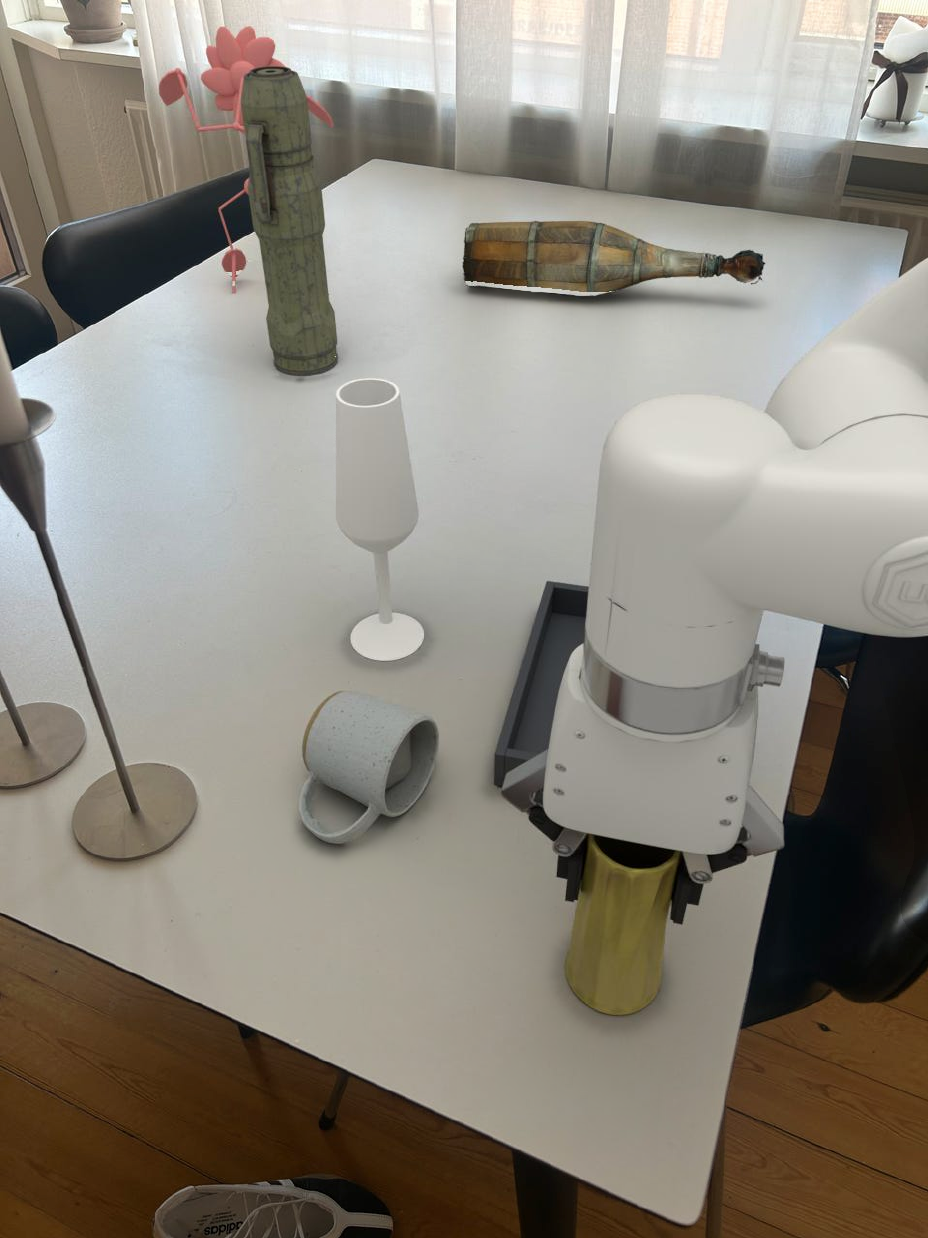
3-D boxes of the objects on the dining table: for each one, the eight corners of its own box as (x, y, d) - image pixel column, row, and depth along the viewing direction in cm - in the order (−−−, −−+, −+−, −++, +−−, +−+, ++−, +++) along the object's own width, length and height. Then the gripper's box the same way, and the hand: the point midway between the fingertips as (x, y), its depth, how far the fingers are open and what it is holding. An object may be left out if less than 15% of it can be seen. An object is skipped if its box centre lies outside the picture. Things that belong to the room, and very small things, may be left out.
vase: (639, 1034, 59) (668, 898, 49) (548, 987, 61) (560, 849, 52) (675, 955, 63) (708, 815, 53) (588, 914, 65) (606, 773, 56)
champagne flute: (420, 609, 90) (408, 369, 75) (428, 656, 85) (417, 410, 70) (348, 616, 89) (321, 375, 74) (352, 664, 84) (323, 417, 69)
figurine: (341, 301, 147) (315, 36, 125) (181, 292, 151) (128, 33, 128) (365, 265, 159) (346, 17, 136) (216, 257, 162) (174, 14, 140)
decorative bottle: (453, 280, 145) (762, 303, 135) (460, 206, 143) (775, 224, 133) (469, 293, 155) (757, 315, 146) (476, 223, 153) (769, 241, 144)
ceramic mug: (355, 731, 78) (346, 661, 73) (443, 768, 75) (439, 698, 70) (275, 824, 71) (258, 755, 66) (367, 869, 68) (357, 800, 63)
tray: (716, 636, 87) (722, 605, 84) (701, 824, 71) (708, 792, 68) (544, 610, 90) (546, 580, 87) (493, 785, 74) (494, 753, 71)
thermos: (351, 346, 135) (326, 61, 112) (321, 383, 126) (286, 82, 103) (292, 340, 136) (255, 58, 114) (258, 376, 128) (211, 79, 105)
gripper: (853, 638, 46) (777, 868, 57) (500, 587, 49) (496, 814, 61) (863, 753, 40) (777, 982, 52) (464, 687, 43) (467, 916, 55)
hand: (626, 890), depth 56 cm, fingers closed on vase, 5 cm apart
